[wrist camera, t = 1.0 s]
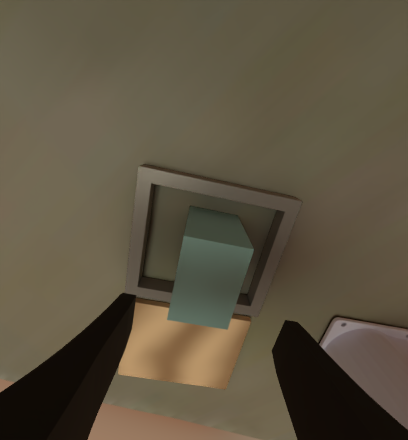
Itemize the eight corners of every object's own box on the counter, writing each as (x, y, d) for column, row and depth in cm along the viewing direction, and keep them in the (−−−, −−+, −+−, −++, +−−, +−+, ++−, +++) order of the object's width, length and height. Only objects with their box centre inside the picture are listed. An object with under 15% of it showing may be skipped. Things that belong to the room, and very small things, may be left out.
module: (237, 215, 17) (254, 249, 12) (220, 275, 19) (227, 329, 14) (190, 205, 17) (183, 235, 11) (177, 267, 19) (166, 320, 13)
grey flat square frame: (294, 196, 17) (302, 201, 15) (254, 305, 20) (258, 317, 19) (144, 164, 16) (138, 165, 14) (130, 283, 20) (124, 294, 18)
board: (249, 316, 21) (251, 321, 20) (225, 383, 24) (225, 389, 24) (128, 296, 20) (126, 300, 19) (120, 368, 23) (118, 374, 23)
